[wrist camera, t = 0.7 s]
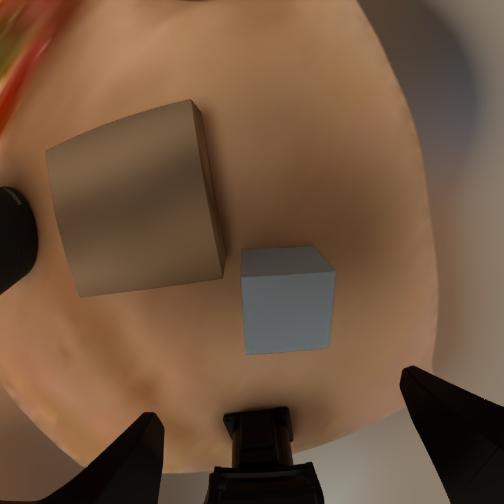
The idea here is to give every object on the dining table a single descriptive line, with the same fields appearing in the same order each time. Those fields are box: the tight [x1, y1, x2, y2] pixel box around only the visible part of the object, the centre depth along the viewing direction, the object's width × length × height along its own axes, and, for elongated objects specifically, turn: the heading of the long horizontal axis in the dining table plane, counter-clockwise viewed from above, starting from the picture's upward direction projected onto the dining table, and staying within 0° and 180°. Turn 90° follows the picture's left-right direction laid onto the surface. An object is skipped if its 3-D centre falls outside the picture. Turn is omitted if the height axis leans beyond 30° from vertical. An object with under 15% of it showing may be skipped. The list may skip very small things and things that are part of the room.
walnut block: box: [45, 99, 226, 297], centre depth 16 cm, size 10×10×4 cm
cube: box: [241, 246, 336, 355], centre depth 17 cm, size 5×5×5 cm
